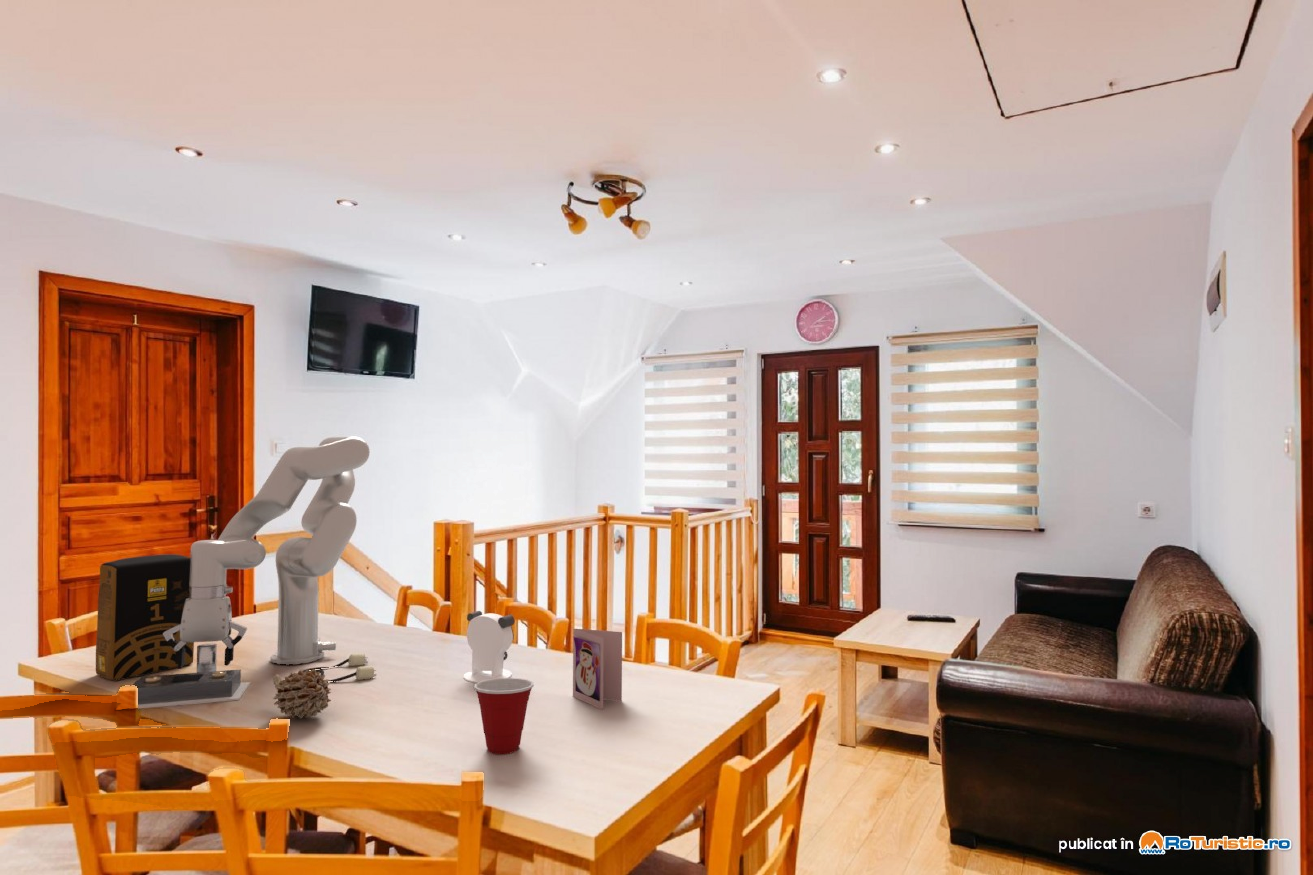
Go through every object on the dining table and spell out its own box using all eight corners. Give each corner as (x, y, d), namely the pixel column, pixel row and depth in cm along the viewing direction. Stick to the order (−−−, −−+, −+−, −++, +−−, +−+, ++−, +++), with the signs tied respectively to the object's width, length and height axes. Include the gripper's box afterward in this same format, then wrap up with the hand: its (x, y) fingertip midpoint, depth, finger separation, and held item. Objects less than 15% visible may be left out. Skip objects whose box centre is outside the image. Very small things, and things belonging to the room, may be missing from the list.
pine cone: (344, 719, 151) (345, 669, 152) (297, 733, 144) (298, 681, 144) (290, 697, 165) (291, 651, 165) (244, 708, 157) (245, 661, 157)
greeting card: (569, 696, 166) (570, 629, 167) (596, 690, 171) (597, 624, 171) (599, 710, 158) (600, 638, 158) (627, 703, 162) (628, 633, 163)
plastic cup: (536, 736, 143) (537, 673, 143) (529, 759, 132) (529, 691, 132) (479, 737, 142) (480, 673, 143) (467, 760, 132) (467, 691, 132)
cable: (307, 690, 171) (307, 675, 171) (299, 672, 185) (300, 658, 185) (378, 680, 179) (379, 665, 179) (366, 664, 193) (366, 650, 193)
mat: (250, 683, 174) (250, 682, 174) (238, 699, 163) (239, 698, 163) (134, 693, 167) (134, 691, 167) (114, 710, 155) (114, 708, 155)
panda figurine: (523, 673, 184) (523, 611, 184) (494, 685, 174) (495, 621, 174) (483, 667, 189) (484, 607, 189) (453, 679, 179) (454, 616, 179)
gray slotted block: (240, 684, 172) (240, 665, 172) (231, 696, 164) (232, 676, 164) (141, 692, 166) (141, 673, 166) (126, 705, 157) (127, 684, 158)
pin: (218, 676, 180) (218, 642, 180) (213, 680, 176) (214, 646, 176) (199, 677, 179) (199, 643, 179) (194, 682, 175) (195, 647, 175)
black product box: (198, 664, 190) (200, 553, 191) (110, 683, 174) (113, 562, 174) (177, 657, 196) (180, 550, 196) (90, 675, 180) (93, 558, 180)
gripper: (251, 588, 184) (248, 659, 183) (170, 591, 179) (167, 663, 178) (245, 593, 177) (242, 667, 176) (160, 596, 172) (157, 672, 171)
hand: (204, 665), depth 177 cm, fingers open, 9 cm apart
